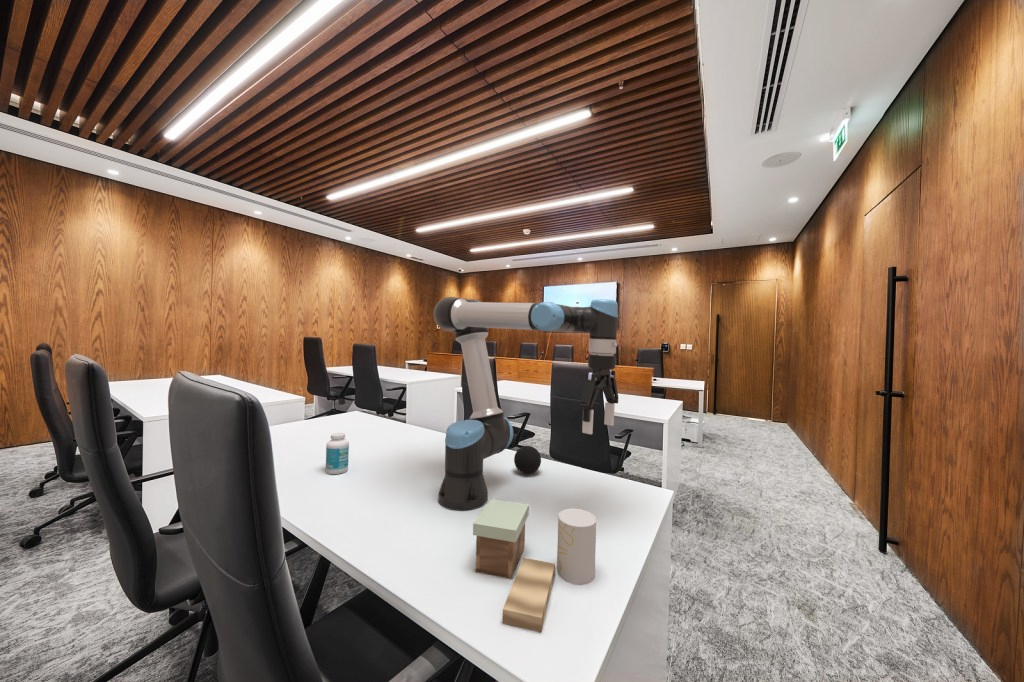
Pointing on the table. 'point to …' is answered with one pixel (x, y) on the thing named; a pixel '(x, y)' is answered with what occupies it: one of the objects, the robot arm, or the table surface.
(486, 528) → the lid
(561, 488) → the table surface
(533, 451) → the black ball
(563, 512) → the cup
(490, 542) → the box
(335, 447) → the pill bottle
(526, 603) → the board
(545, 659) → the table surface
